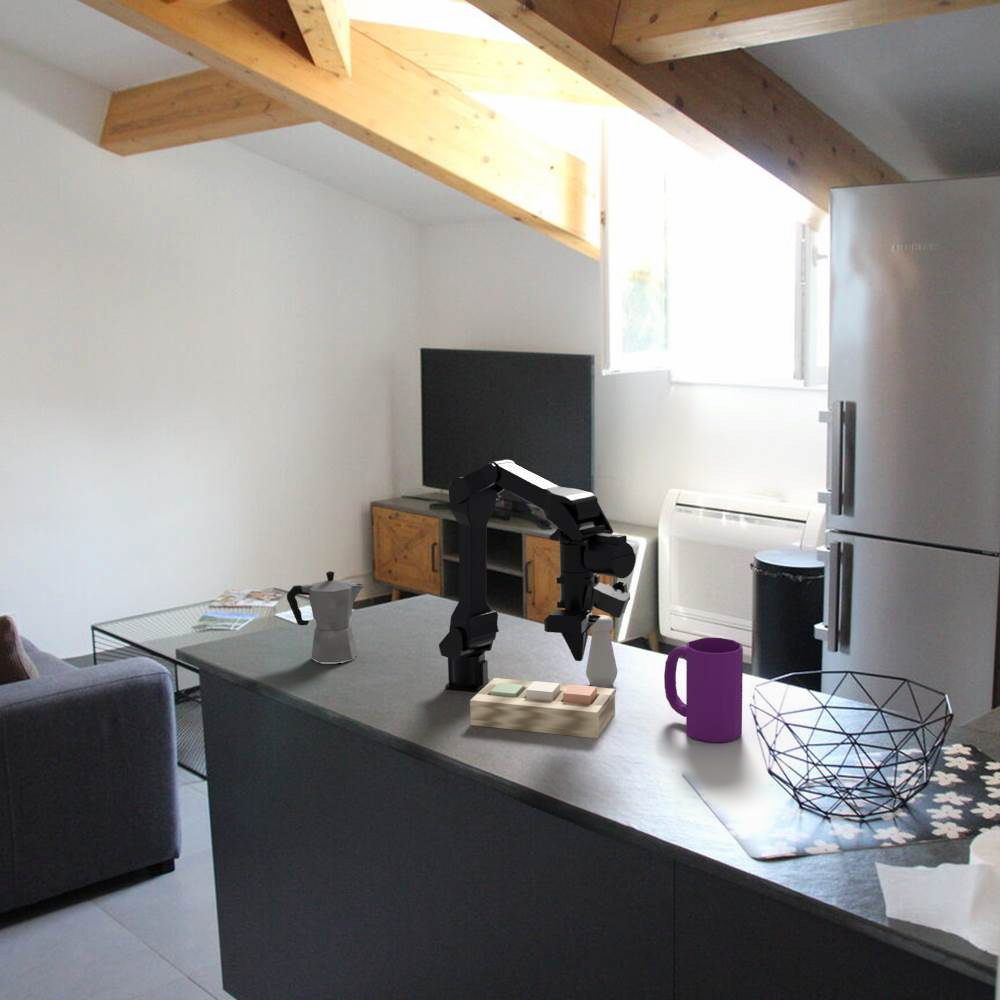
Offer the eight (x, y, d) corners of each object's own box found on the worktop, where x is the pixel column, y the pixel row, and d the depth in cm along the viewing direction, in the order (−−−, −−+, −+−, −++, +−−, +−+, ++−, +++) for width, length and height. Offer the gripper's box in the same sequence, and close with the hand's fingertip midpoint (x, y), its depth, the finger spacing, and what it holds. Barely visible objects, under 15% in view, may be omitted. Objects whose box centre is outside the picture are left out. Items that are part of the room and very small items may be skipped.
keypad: (470, 725, 195) (470, 700, 194) (494, 701, 206) (494, 677, 206) (597, 738, 188) (597, 712, 187) (615, 713, 199) (615, 688, 198)
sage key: (490, 710, 198) (489, 691, 197) (499, 701, 202) (498, 682, 201) (515, 712, 196) (515, 693, 196) (524, 703, 200) (524, 684, 200)
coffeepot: (364, 648, 240) (360, 564, 237) (369, 662, 231) (365, 574, 228) (289, 655, 237) (284, 569, 234) (291, 669, 228) (286, 580, 225)
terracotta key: (563, 712, 193) (563, 693, 193) (571, 703, 197) (570, 684, 197) (590, 715, 192) (589, 695, 191) (597, 705, 196) (597, 686, 195)
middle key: (526, 708, 195) (526, 689, 195) (534, 700, 200) (534, 681, 199) (552, 711, 194) (552, 692, 193) (560, 702, 198) (560, 683, 198)
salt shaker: (615, 690, 211) (615, 621, 208) (584, 689, 212) (583, 620, 210) (619, 680, 216) (618, 612, 214) (588, 679, 217) (587, 611, 215)
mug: (715, 748, 182) (715, 657, 180) (646, 722, 195) (646, 636, 192) (754, 734, 188) (755, 645, 185) (685, 709, 200) (685, 625, 198)
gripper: (610, 585, 179) (612, 681, 182) (638, 559, 196) (638, 648, 199) (542, 581, 183) (544, 676, 185) (574, 556, 200) (576, 643, 203)
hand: (578, 660), depth 193 cm, fingers closed
